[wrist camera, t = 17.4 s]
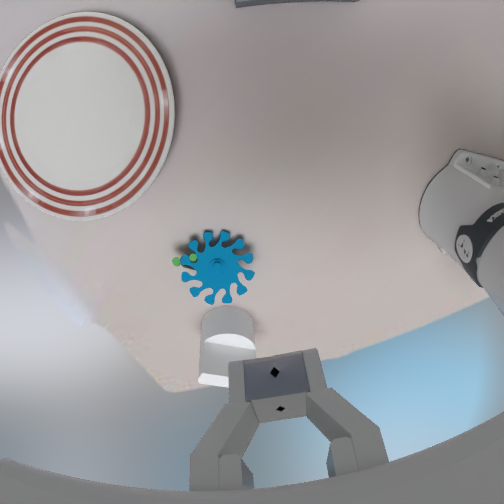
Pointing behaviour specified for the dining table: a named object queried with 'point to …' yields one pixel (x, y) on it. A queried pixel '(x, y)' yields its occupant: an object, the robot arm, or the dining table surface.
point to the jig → (251, 0)
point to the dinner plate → (84, 116)
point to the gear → (215, 267)
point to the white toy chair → (224, 343)
